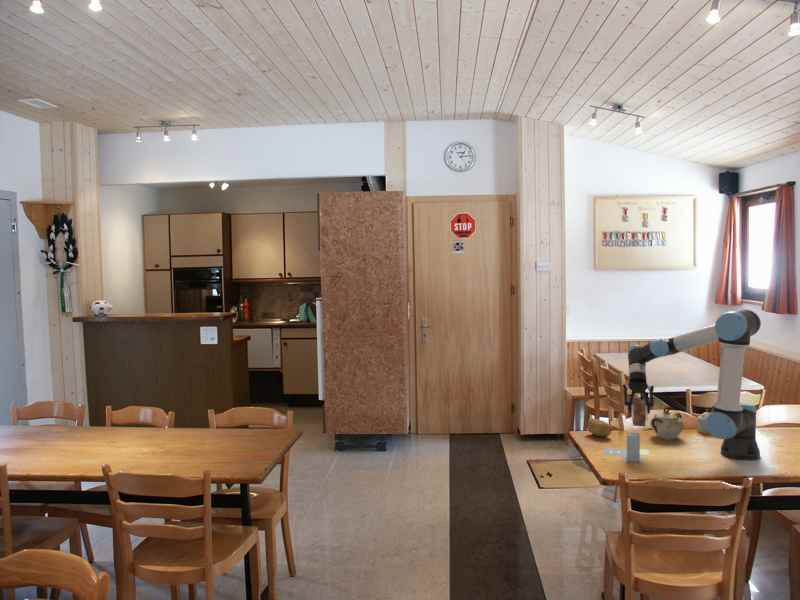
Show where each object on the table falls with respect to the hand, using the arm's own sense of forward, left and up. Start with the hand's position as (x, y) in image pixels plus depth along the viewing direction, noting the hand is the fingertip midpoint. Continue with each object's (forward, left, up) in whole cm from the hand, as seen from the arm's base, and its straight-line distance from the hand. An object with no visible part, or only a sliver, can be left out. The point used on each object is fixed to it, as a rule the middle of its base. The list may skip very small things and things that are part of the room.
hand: (639, 419), depth 273 cm
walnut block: (+1, -3, -3) cm, 5 cm away
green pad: (+1, -3, -16) cm, 16 cm away
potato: (+24, -18, -16) cm, 34 cm away
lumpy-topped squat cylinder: (-18, -57, -16) cm, 62 cm away
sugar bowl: (-3, -34, -16) cm, 38 cm away
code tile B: (0, +9, -16) cm, 18 cm away
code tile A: (+10, +3, -16) cm, 19 cm away
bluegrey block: (0, +9, -16) cm, 18 cm away
